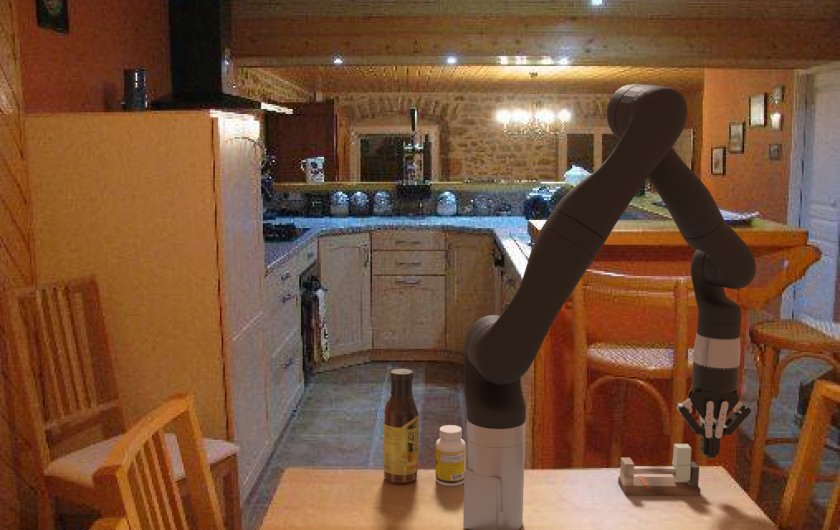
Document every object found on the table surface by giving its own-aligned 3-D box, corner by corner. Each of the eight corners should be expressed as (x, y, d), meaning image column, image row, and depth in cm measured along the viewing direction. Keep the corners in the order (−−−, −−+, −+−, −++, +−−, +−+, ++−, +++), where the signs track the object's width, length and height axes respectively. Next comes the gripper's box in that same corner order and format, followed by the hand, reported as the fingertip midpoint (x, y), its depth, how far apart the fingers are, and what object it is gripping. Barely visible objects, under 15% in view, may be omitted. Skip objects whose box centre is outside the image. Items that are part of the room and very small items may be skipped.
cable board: (690, 483, 147) (692, 455, 146) (700, 495, 142) (701, 466, 141) (618, 482, 147) (619, 455, 146) (625, 494, 142) (626, 466, 141)
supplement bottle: (440, 473, 150) (441, 421, 149) (468, 477, 149) (469, 425, 147) (431, 484, 145) (431, 431, 144) (460, 489, 144) (461, 435, 142)
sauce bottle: (414, 487, 144) (414, 378, 141) (379, 483, 145) (379, 375, 142) (421, 472, 150) (422, 367, 147) (388, 469, 152) (388, 365, 149)
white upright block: (685, 474, 145) (687, 443, 144) (689, 480, 143) (691, 448, 142) (671, 474, 145) (673, 443, 144) (676, 480, 143) (678, 448, 142)
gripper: (684, 365, 137) (678, 464, 140) (763, 366, 137) (756, 465, 140) (671, 354, 144) (665, 448, 147) (746, 355, 144) (738, 448, 147)
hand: (709, 456), depth 143 cm, fingers closed
